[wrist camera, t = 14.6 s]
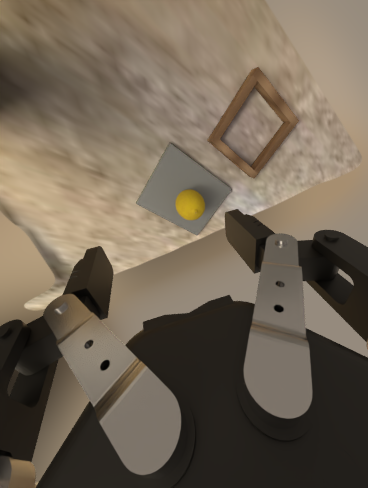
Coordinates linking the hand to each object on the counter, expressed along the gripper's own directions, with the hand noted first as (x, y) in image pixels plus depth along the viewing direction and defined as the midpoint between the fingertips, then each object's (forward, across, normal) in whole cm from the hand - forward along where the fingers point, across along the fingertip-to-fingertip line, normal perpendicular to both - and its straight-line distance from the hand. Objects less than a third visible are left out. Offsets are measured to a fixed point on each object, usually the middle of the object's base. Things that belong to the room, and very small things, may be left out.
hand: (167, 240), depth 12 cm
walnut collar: (+28, -21, -1) cm, 35 cm away
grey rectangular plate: (+28, -6, +8) cm, 30 cm away
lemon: (+27, -6, +8) cm, 29 cm away
